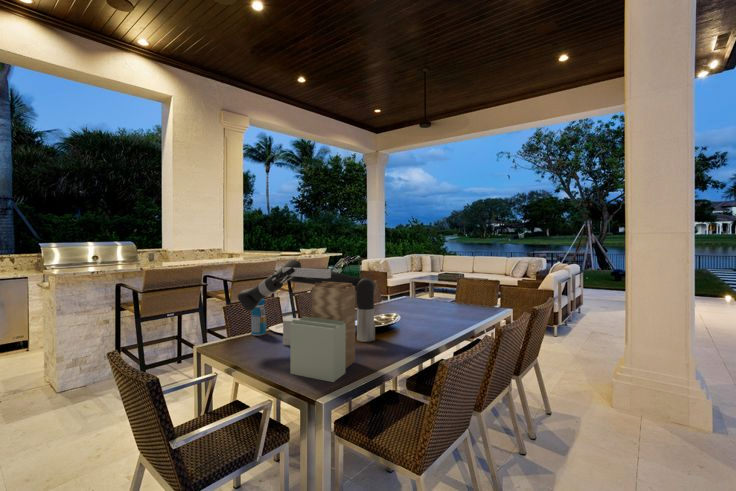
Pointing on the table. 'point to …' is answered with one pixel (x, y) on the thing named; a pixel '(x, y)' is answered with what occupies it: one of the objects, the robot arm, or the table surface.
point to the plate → (277, 328)
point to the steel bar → (309, 272)
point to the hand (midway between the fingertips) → (296, 269)
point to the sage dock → (318, 348)
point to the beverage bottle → (258, 319)
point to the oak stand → (337, 310)
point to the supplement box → (287, 330)
